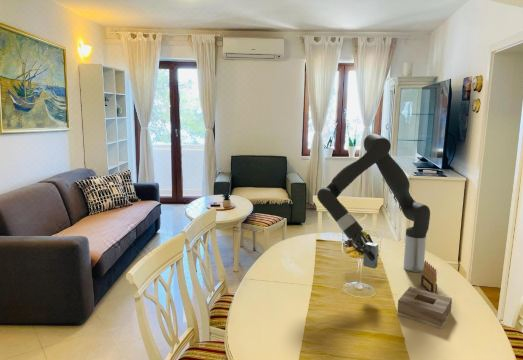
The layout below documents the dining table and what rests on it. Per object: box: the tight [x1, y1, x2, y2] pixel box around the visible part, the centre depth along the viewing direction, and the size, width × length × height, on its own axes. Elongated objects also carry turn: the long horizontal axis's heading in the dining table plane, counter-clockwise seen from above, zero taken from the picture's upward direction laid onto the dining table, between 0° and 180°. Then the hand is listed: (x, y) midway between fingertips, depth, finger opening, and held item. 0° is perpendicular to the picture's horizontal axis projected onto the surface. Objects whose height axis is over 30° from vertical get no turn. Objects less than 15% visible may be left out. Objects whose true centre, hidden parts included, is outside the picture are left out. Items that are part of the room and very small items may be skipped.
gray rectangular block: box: [362, 242, 379, 270], centre depth 163 cm, size 3×5×10 cm, turn 52°
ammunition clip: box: [420, 259, 438, 294], centre depth 166 cm, size 11×2×12 cm, turn 3°
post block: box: [396, 286, 453, 329], centre depth 148 cm, size 14×16×6 cm
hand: (375, 258), depth 162 cm, fingers closed on gray rectangular block, 3 cm apart
